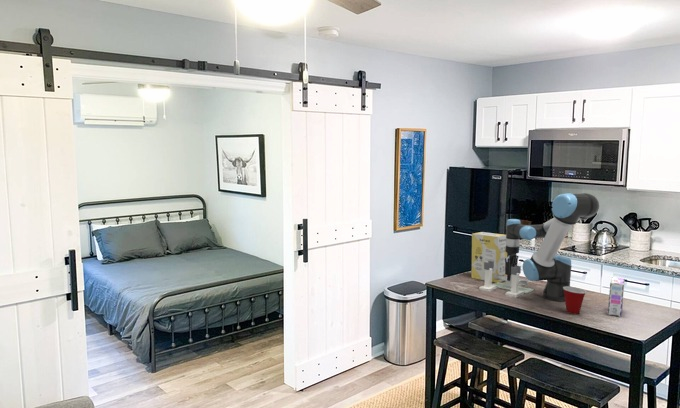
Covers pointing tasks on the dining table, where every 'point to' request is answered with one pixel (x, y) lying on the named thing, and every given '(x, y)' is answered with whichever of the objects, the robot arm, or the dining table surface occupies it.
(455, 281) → the dining table surface
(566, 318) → the dining table surface
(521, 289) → the mat
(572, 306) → the plastic cup
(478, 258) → the pasta box
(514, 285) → the rack
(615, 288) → the candy box
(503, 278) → the rail
